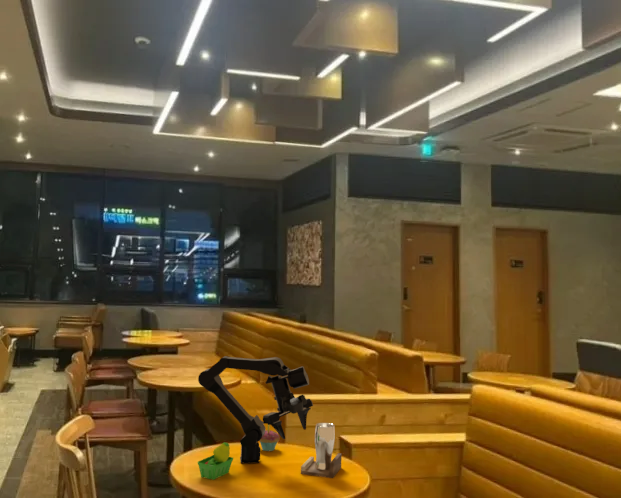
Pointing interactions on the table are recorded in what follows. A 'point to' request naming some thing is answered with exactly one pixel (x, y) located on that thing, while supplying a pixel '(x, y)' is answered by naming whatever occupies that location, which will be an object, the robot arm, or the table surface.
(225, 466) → the fruit basket
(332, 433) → the beer glass
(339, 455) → the grey bracket
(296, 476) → the table surface
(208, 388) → the robot arm
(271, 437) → the cupcake
